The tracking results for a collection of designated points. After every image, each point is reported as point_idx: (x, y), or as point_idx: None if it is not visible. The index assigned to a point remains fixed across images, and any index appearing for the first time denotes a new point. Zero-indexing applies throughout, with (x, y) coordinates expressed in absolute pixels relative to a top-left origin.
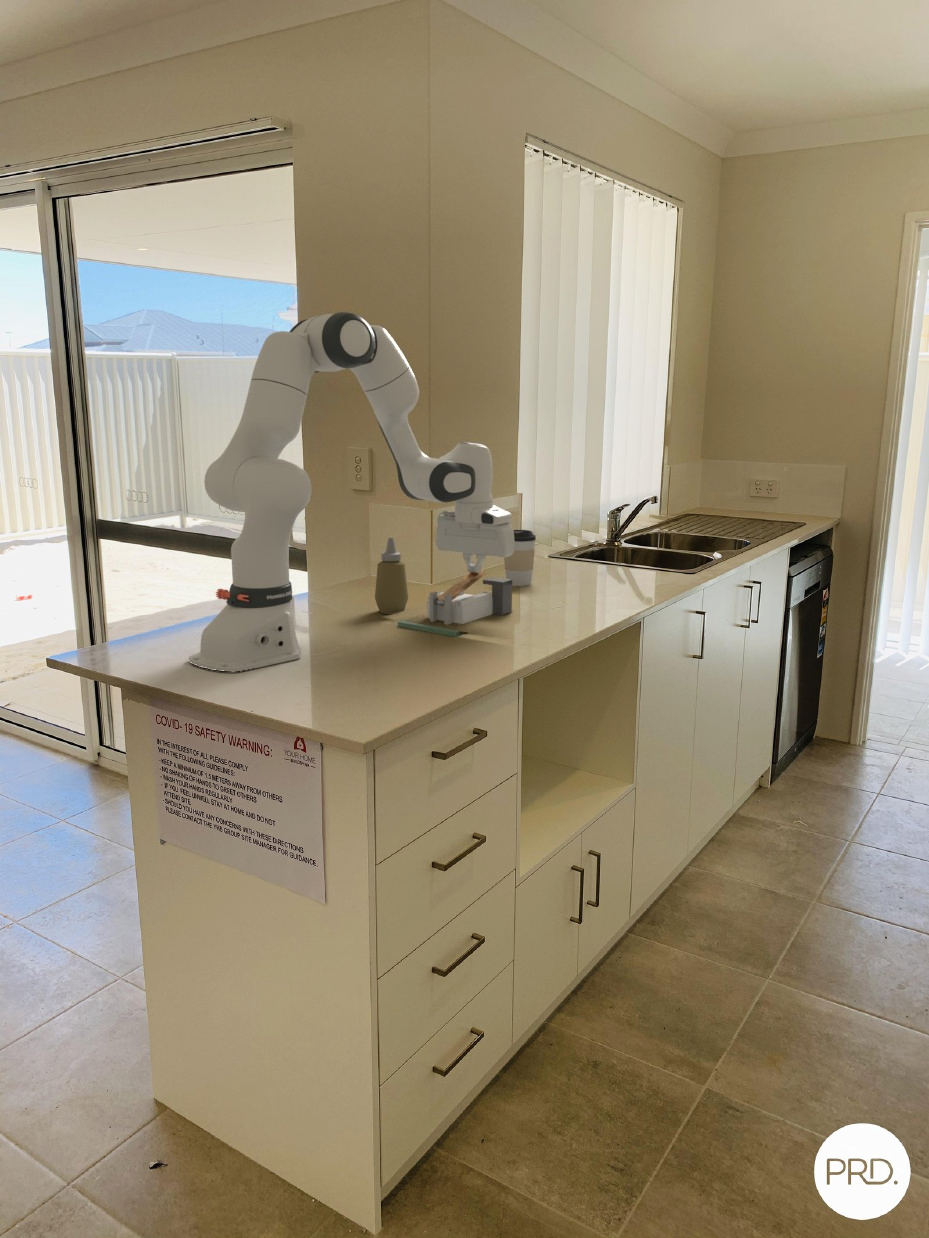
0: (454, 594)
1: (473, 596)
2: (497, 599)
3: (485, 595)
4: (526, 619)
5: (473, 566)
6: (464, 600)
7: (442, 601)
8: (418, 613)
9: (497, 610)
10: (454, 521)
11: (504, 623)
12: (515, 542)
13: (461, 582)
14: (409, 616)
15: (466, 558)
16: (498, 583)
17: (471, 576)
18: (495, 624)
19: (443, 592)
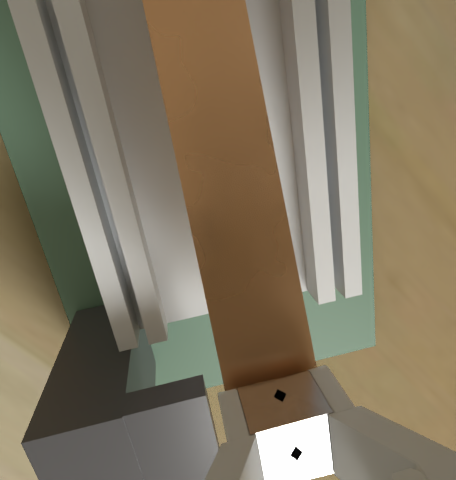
0: (148, 25)
1: (105, 190)
2: (94, 347)
3: (99, 286)
4: (17, 376)
5: (274, 420)
6: (27, 27)
7: None
8: (434, 100)
9: (102, 314)
10: None
11: (13, 261)
12: None
13: (246, 209)
14: (432, 17)
15: (401, 461)
16: (67, 422)
17: (250, 335)
18: (22, 217)
19: (347, 127)
